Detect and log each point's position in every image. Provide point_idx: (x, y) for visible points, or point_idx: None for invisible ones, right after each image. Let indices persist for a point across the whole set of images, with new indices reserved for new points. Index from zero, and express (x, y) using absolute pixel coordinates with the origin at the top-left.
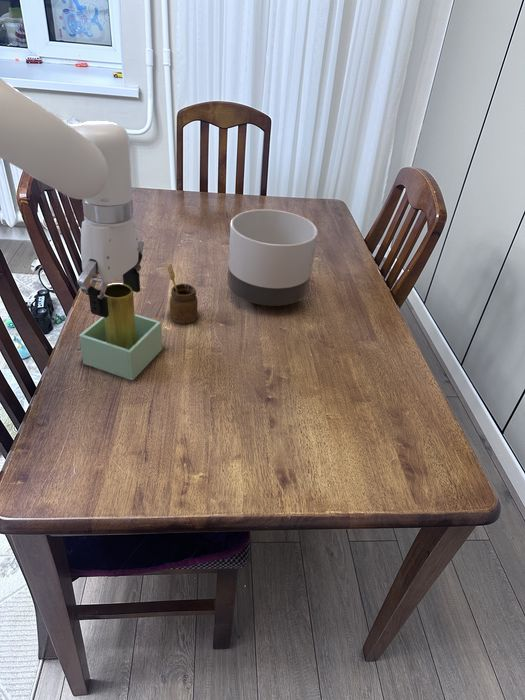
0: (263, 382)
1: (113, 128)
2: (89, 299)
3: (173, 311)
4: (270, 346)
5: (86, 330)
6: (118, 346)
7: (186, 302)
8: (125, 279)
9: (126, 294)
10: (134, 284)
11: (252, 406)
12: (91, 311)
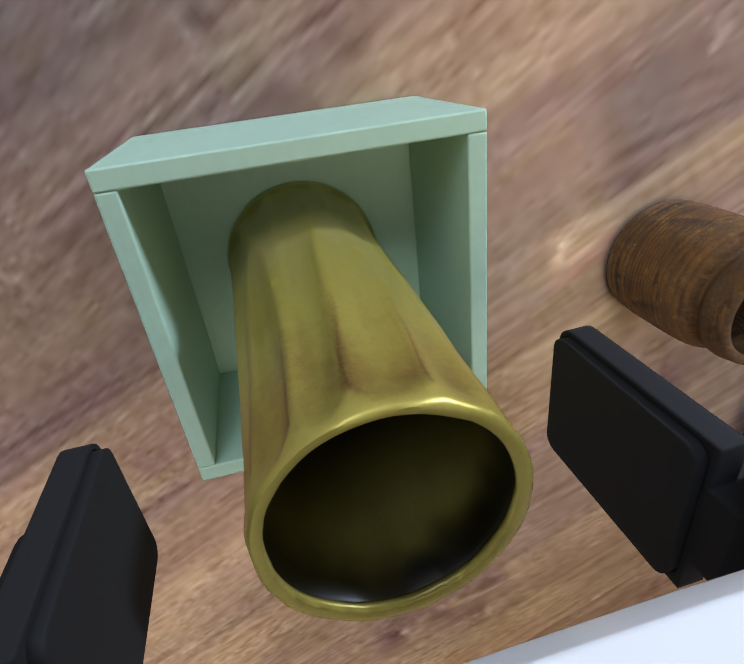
0: (445, 598)
1: None
2: (9, 576)
3: (645, 265)
4: (592, 530)
5: (165, 169)
6: (196, 418)
7: (696, 337)
8: (617, 411)
9: (473, 435)
10: (587, 471)
11: (350, 631)
12: (62, 459)
